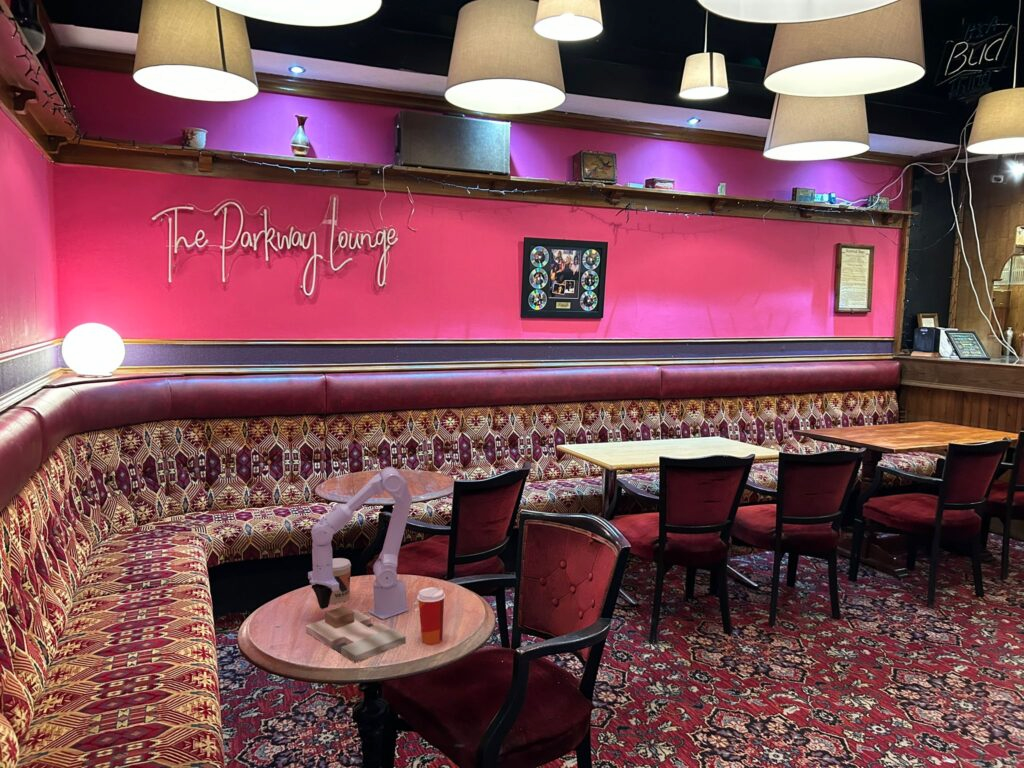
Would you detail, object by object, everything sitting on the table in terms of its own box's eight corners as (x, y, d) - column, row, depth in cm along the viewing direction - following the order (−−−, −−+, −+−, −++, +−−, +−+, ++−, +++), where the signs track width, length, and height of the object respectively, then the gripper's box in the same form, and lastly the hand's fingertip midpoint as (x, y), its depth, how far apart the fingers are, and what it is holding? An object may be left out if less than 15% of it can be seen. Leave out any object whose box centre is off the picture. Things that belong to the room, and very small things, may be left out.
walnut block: (343, 616, 213) (342, 606, 213) (354, 622, 209) (354, 612, 208) (325, 622, 209) (324, 612, 209) (336, 628, 205) (335, 618, 204)
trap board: (354, 615, 218) (354, 609, 218) (405, 643, 200) (405, 636, 199) (306, 632, 207) (305, 625, 207) (355, 663, 188) (355, 655, 188)
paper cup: (432, 632, 206) (431, 584, 205) (451, 639, 201) (450, 590, 200) (412, 641, 200) (410, 593, 199) (431, 649, 195) (430, 599, 194)
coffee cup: (334, 607, 224) (333, 569, 223) (315, 600, 230) (314, 563, 229) (358, 597, 232) (357, 561, 231) (339, 591, 237) (337, 555, 236)
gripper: (298, 560, 216) (299, 604, 217) (323, 572, 205) (324, 618, 207) (319, 555, 221) (320, 598, 222) (344, 566, 210) (346, 611, 212)
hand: (324, 607), depth 215 cm, fingers closed
